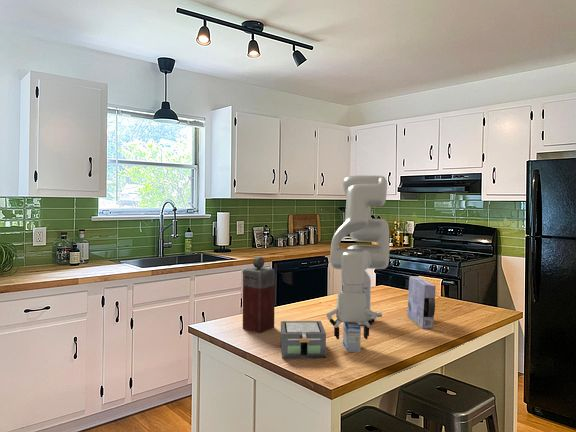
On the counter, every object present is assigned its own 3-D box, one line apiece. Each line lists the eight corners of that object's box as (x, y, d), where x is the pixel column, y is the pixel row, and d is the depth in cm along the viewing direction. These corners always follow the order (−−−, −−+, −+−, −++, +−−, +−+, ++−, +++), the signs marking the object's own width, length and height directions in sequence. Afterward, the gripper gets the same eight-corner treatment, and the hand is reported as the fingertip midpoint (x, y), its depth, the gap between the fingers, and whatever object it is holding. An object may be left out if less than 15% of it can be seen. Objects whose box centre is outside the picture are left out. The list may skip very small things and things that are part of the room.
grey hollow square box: (320, 343, 155) (320, 320, 155) (325, 358, 141) (326, 333, 141) (280, 343, 155) (280, 321, 154) (282, 358, 140) (282, 334, 140)
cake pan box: (435, 330, 172) (436, 284, 171) (423, 330, 171) (424, 285, 171) (417, 316, 191) (418, 275, 190) (406, 316, 191) (407, 275, 190)
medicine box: (342, 344, 154) (342, 320, 154) (355, 344, 155) (355, 319, 154) (347, 352, 147) (347, 326, 146) (360, 352, 147) (361, 326, 146)
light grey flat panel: (316, 325, 153) (316, 322, 153) (321, 339, 139) (321, 335, 139) (285, 326, 153) (285, 322, 153) (287, 339, 139) (287, 335, 138)
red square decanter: (253, 322, 180) (253, 254, 179) (274, 327, 173) (275, 256, 172) (238, 327, 173) (238, 256, 172) (259, 333, 166) (260, 259, 165)
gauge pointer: (308, 341, 140) (308, 338, 140) (309, 342, 139) (309, 339, 139) (299, 341, 140) (299, 338, 140) (299, 342, 139) (299, 339, 139)
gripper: (374, 286, 154) (374, 334, 154) (325, 286, 153) (324, 334, 153) (380, 290, 146) (379, 341, 147) (328, 290, 145) (327, 341, 146)
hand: (351, 338), depth 150 cm, fingers open, 9 cm apart
